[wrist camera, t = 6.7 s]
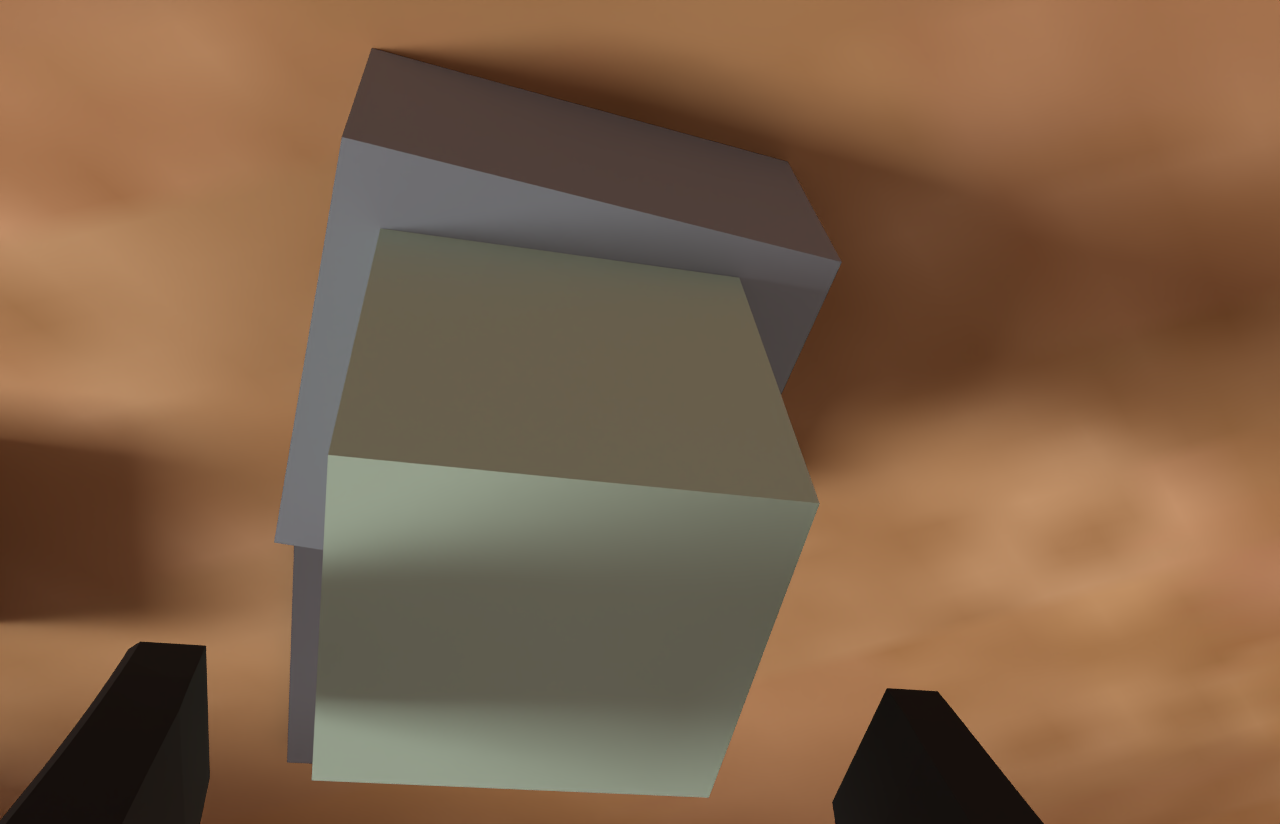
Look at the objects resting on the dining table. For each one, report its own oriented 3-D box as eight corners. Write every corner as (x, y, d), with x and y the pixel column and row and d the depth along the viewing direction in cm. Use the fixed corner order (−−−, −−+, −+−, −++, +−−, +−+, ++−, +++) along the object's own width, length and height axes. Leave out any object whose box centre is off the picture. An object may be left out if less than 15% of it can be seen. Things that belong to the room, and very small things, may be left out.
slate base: (658, 466, 22) (684, 606, 19) (310, 400, 21) (274, 542, 17) (783, 154, 19) (841, 261, 15) (373, 42, 17) (341, 136, 14)
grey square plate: (619, 764, 27) (621, 784, 27) (290, 748, 26) (285, 769, 25) (691, 524, 23) (695, 543, 22) (298, 488, 21) (294, 508, 21)
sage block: (665, 540, 18) (708, 798, 14) (359, 513, 17) (311, 780, 13) (739, 277, 15) (819, 503, 11) (380, 227, 15) (328, 454, 10)
